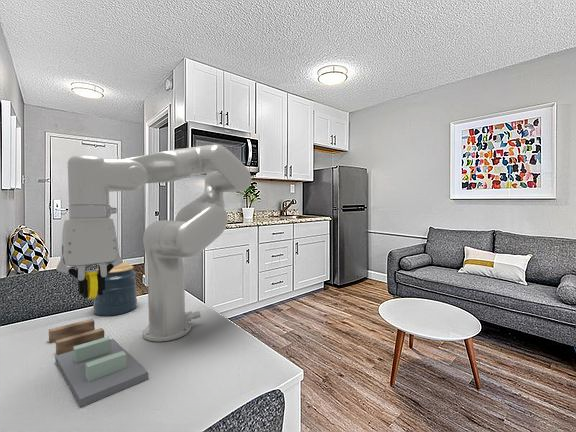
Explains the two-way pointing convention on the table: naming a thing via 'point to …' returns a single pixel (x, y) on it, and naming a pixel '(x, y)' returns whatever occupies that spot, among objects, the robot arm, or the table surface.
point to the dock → (100, 383)
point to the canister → (117, 292)
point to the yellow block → (92, 283)
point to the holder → (74, 335)
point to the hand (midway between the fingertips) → (92, 294)
